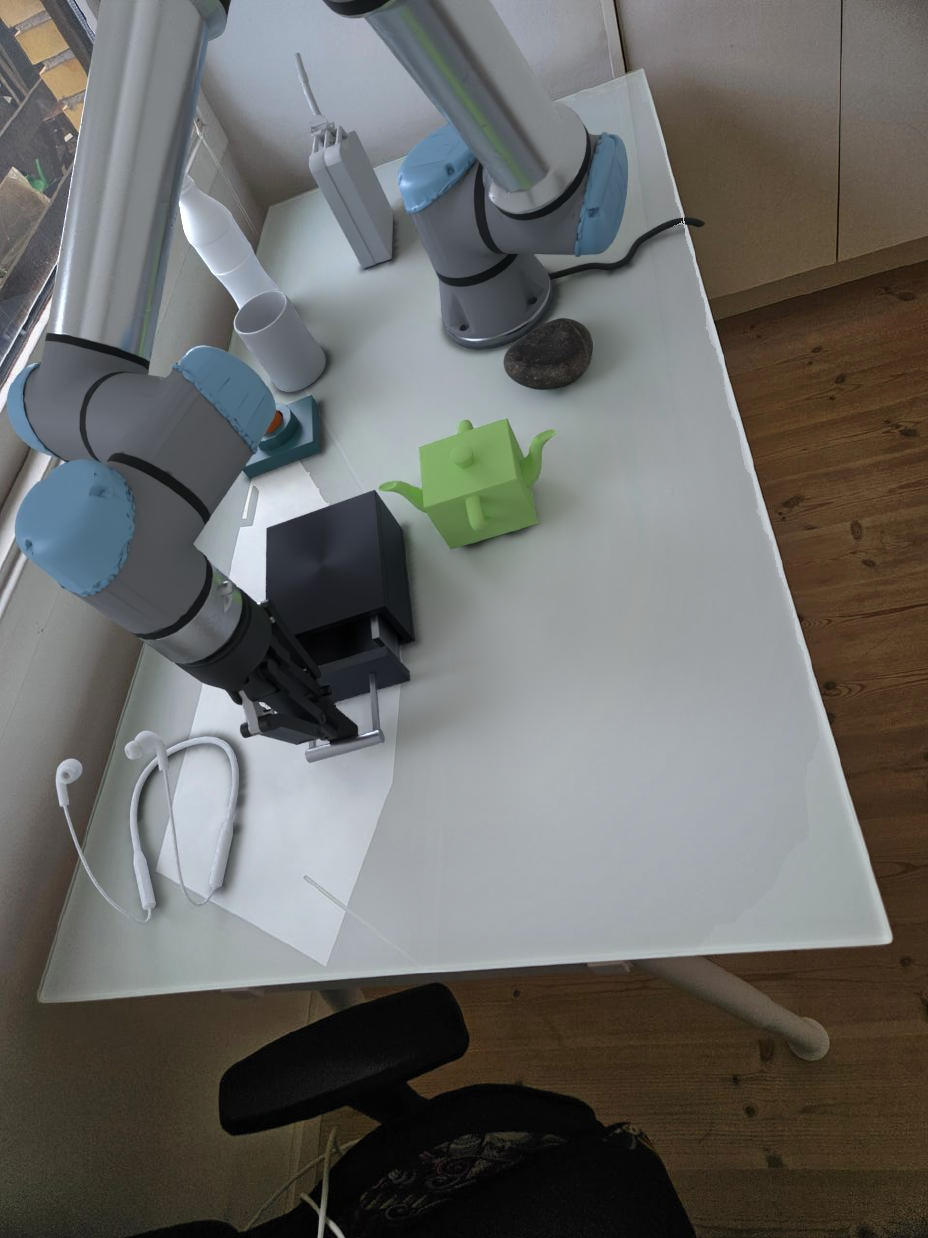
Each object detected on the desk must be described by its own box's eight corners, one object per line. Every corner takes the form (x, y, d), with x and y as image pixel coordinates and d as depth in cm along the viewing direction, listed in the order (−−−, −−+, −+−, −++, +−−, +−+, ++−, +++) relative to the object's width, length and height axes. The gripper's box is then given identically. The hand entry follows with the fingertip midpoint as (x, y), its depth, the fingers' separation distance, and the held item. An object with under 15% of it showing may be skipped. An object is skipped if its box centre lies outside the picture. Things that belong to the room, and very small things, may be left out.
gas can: (365, 212, 134) (287, 54, 113) (393, 202, 132) (318, 39, 112) (362, 271, 126) (277, 112, 106) (391, 260, 124) (311, 97, 104)
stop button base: (319, 405, 113) (305, 385, 110) (321, 451, 108) (306, 431, 105) (250, 431, 116) (234, 412, 113) (249, 478, 111) (232, 459, 108)
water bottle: (299, 301, 128) (204, 151, 107) (282, 334, 125) (180, 186, 105) (264, 304, 131) (164, 158, 111) (246, 336, 128) (140, 193, 108)
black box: (415, 641, 88) (385, 605, 82) (302, 675, 91) (264, 644, 85) (403, 529, 97) (375, 489, 90) (300, 563, 100) (266, 527, 93)
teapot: (578, 485, 91) (554, 421, 82) (514, 580, 87) (482, 524, 79) (472, 451, 99) (441, 389, 90) (411, 537, 96) (372, 481, 87)
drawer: (417, 748, 80) (393, 726, 76) (304, 779, 83) (274, 759, 78) (399, 569, 92) (377, 540, 88) (301, 601, 95) (274, 574, 91)
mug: (323, 384, 115) (283, 325, 106) (271, 398, 118) (227, 341, 109) (332, 326, 121) (295, 265, 112) (282, 341, 124) (242, 282, 115)
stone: (515, 344, 105) (504, 314, 101) (597, 327, 102) (588, 295, 98) (510, 410, 100) (498, 381, 96) (596, 393, 96) (587, 363, 92)
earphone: (100, 948, 78) (23, 778, 77) (183, 869, 94) (120, 728, 93) (222, 909, 76) (146, 733, 74) (285, 835, 92) (224, 689, 90)
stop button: (282, 410, 110) (275, 401, 108) (282, 429, 108) (275, 420, 106) (259, 419, 111) (252, 410, 109) (258, 438, 109) (251, 429, 107)
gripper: (245, 684, 57) (384, 788, 76) (249, 541, 64) (376, 669, 84) (155, 711, 59) (313, 807, 78) (169, 568, 66) (311, 688, 85)
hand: (345, 735), depth 81 cm, fingers closed
